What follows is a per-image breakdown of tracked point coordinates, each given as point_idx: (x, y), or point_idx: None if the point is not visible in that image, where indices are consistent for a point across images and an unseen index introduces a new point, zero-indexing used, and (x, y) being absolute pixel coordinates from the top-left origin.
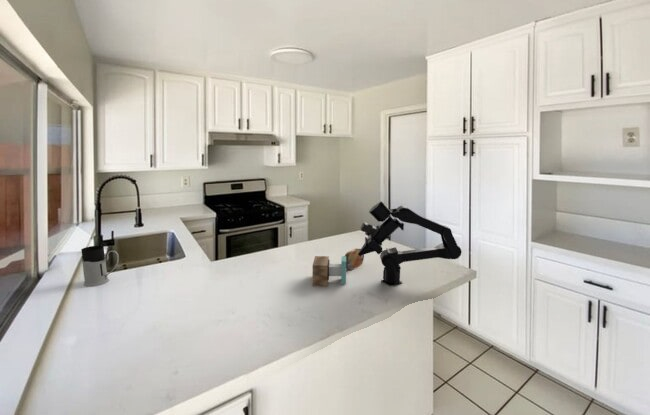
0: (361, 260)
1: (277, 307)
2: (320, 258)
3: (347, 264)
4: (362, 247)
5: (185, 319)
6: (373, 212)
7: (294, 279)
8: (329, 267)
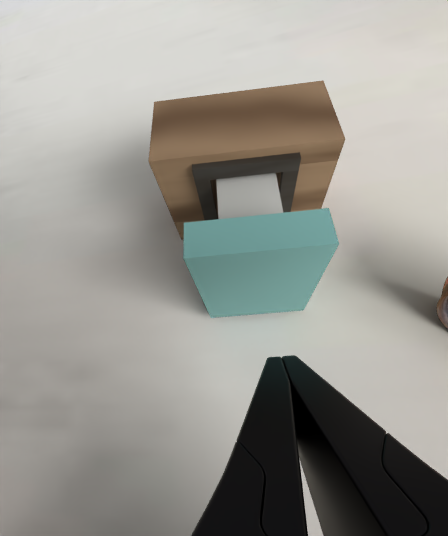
0: None
1: (27, 140)
2: (283, 109)
3: (442, 296)
4: (328, 436)
5: (14, 34)
6: None
7: None
8: (217, 188)
